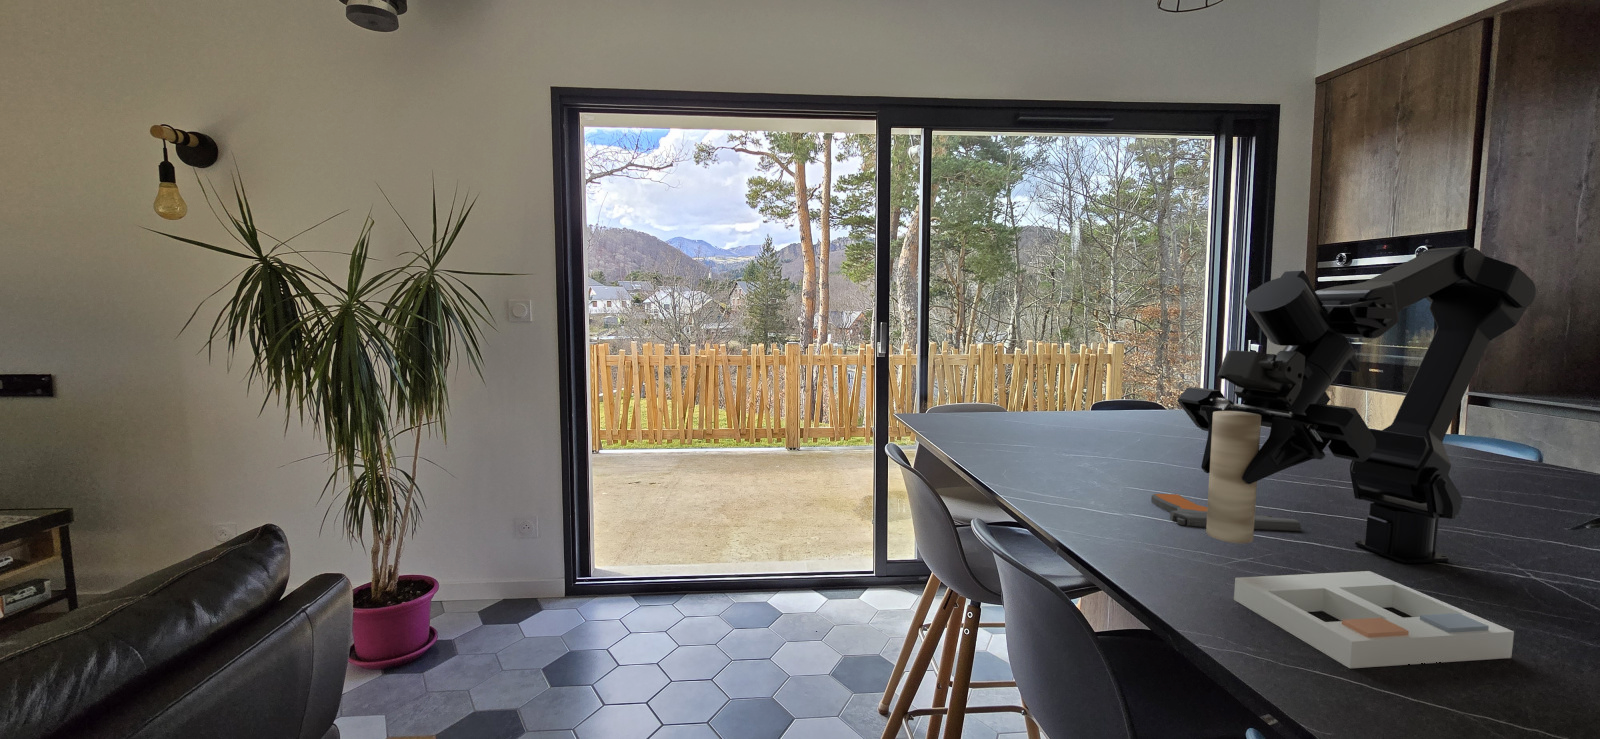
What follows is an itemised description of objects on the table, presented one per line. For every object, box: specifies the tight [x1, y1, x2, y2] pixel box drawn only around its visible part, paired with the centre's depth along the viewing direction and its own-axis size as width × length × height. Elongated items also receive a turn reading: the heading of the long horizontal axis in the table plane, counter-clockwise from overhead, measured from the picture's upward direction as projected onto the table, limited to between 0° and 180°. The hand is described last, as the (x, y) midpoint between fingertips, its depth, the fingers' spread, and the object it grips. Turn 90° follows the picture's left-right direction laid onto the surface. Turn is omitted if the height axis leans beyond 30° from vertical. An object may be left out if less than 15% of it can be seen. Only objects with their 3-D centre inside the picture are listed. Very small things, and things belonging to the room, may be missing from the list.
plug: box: [1205, 411, 1262, 544], centre depth 69 cm, size 4×4×14 cm
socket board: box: [1233, 570, 1515, 669], centre depth 62 cm, size 16×13×3 cm
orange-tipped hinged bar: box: [1151, 493, 1302, 532], centre depth 95 cm, size 2×16×12 cm
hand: (1224, 475), depth 69 cm, fingers closed on plug, 4 cm apart
